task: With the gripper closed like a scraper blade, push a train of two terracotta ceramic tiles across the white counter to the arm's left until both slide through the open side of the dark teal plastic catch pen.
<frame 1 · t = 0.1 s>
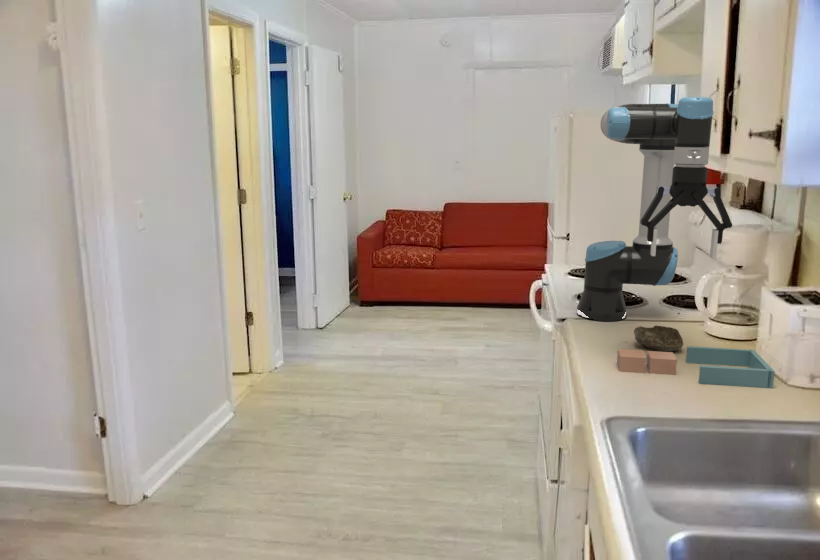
hand: (682, 256, 171), 28 cm above the counter, fingers open, 13 cm apart
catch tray: (725, 373, 173), on the counter
stone: (657, 348, 193), on the counter
tile a: (660, 370, 175), on the counter
tile b: (630, 369, 177), on the counter
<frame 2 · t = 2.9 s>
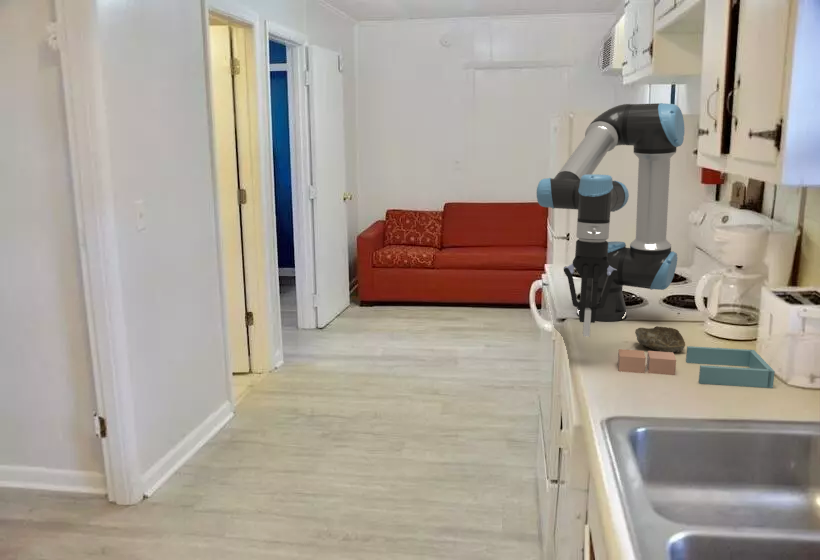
hand: (586, 334, 176), 8 cm above the counter, fingers closed
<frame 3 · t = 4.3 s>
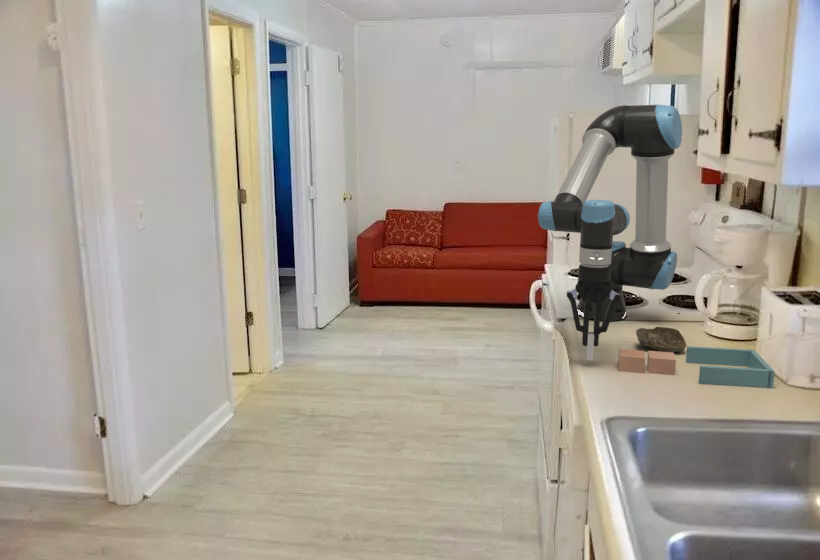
hand: (589, 358, 178), 2 cm above the counter, fingers closed
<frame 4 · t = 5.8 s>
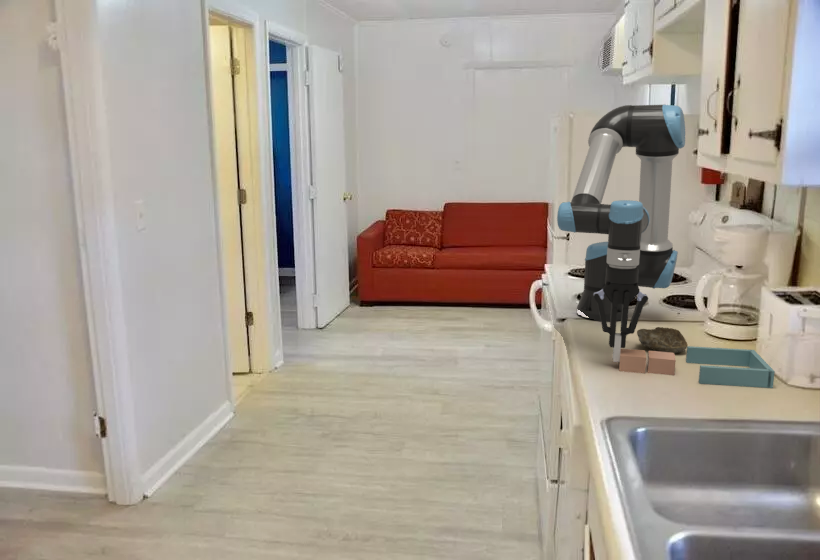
hand: (616, 359, 177), 2 cm above the counter, fingers closed
tile b: (631, 368, 177), on the counter, touching gripper
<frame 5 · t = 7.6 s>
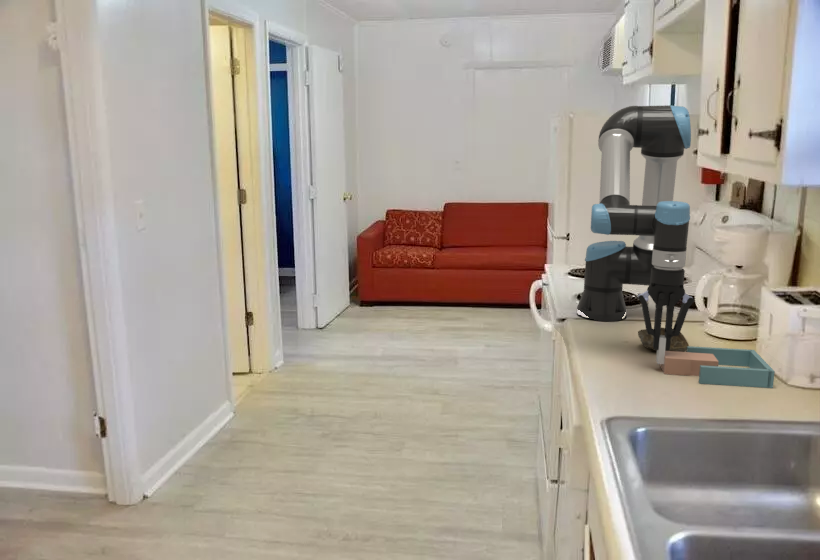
hand: (660, 362, 175), 2 cm above the counter, fingers closed
tile a: (700, 372, 174), on the counter, touching tile b
tile b: (675, 370, 175), on the counter, touching gripper, tile a
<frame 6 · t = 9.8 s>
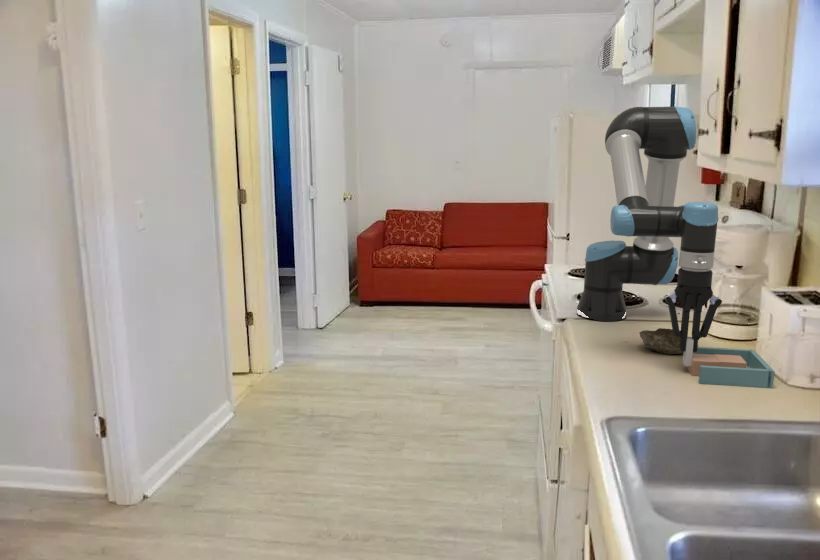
hand: (687, 364, 174), 2 cm above the counter, fingers closed
tile a: (728, 374, 173), on the counter, touching tile b
tile b: (702, 373, 174), on the counter, touching tile a
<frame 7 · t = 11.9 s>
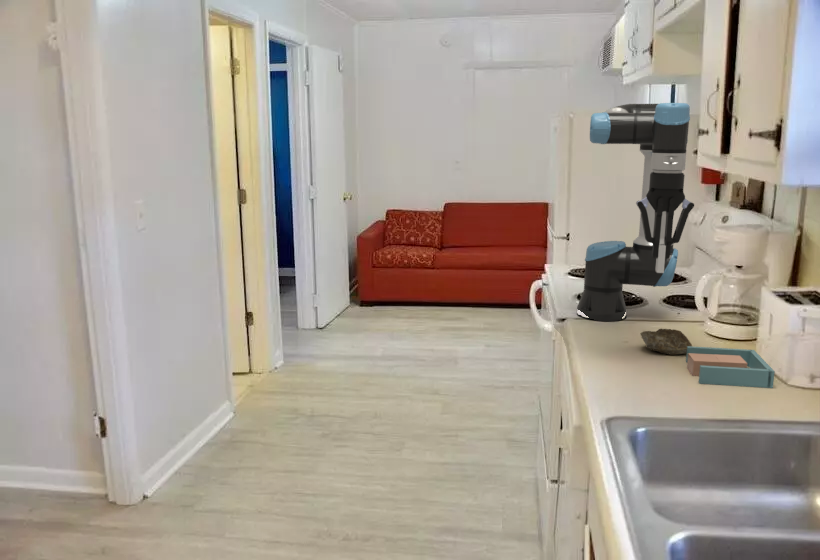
hand: (659, 271, 171), 24 cm above the counter, fingers closed
tile a: (728, 374, 173), on the counter
tile b: (702, 373, 174), on the counter
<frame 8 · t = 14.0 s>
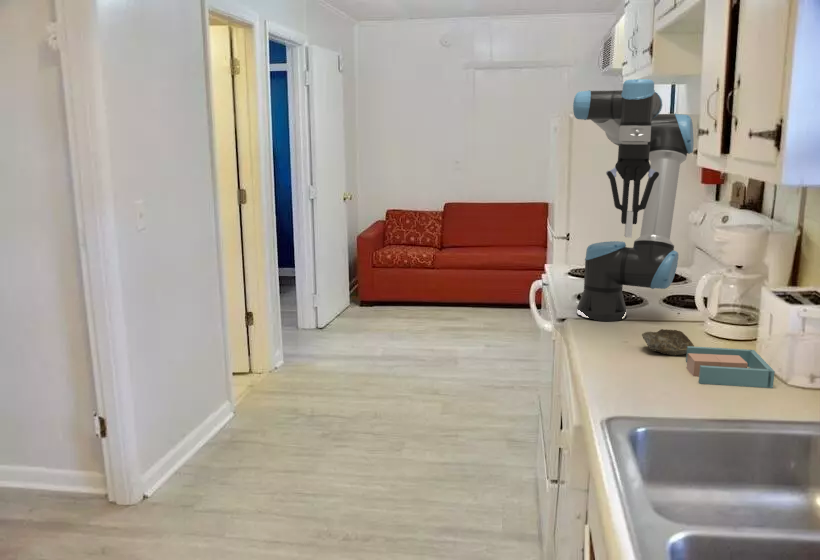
hand: (627, 236, 185), 30 cm above the counter, fingers closed
at the end: tile a inside the target area on the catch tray (0.4 cm from its centre), point 0.0 cm above the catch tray's base; tile b inside the target area on the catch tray (5.7 cm from its centre), point 0.0 cm above the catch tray's base; tile a moved 15.8 cm from its start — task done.
